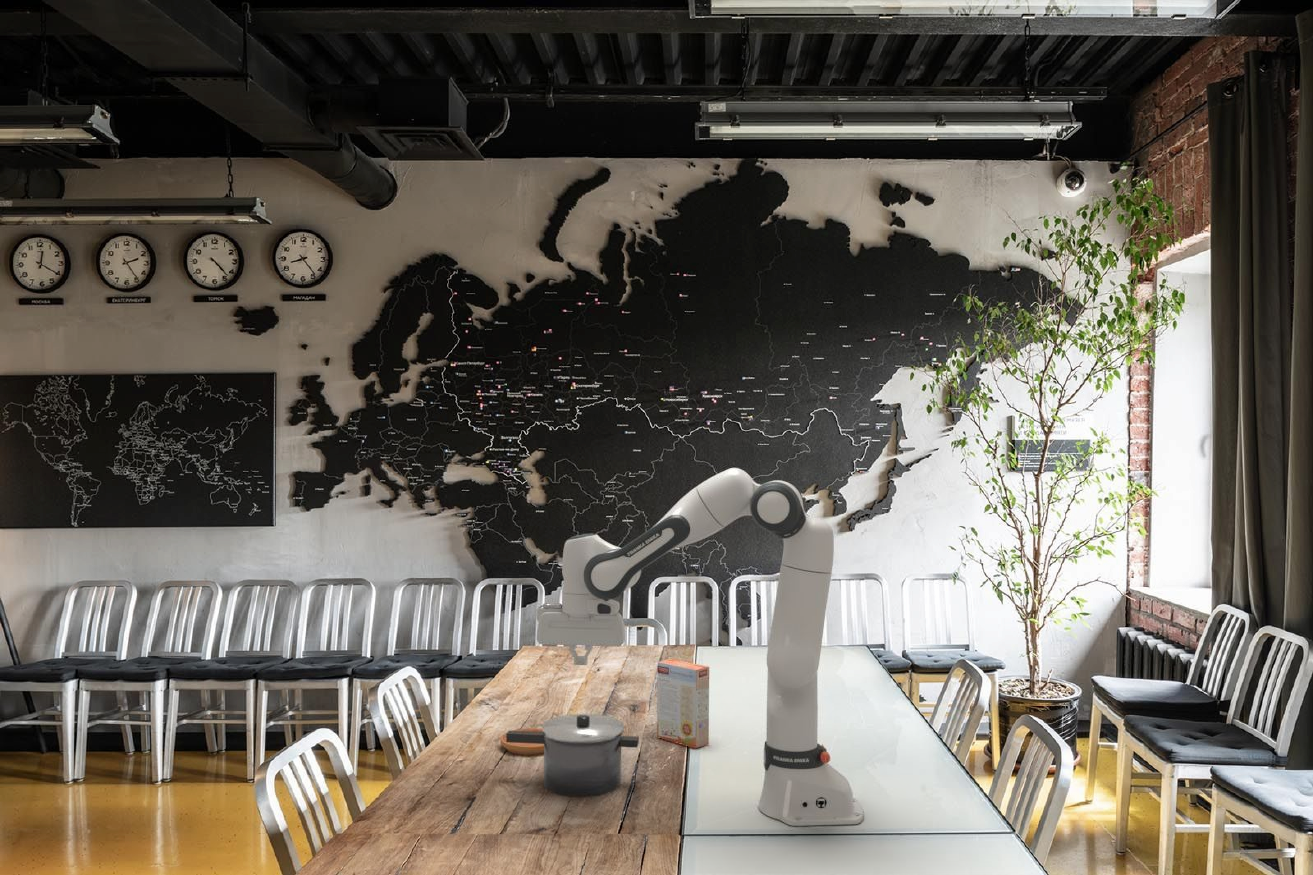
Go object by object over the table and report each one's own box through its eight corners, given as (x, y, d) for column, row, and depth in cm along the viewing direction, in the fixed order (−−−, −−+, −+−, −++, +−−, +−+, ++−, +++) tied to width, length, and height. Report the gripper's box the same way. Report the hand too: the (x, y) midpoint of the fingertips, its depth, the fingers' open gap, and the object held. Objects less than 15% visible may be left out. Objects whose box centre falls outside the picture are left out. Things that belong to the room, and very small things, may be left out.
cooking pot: (642, 772, 226) (642, 722, 226) (632, 799, 208) (633, 745, 208) (516, 766, 229) (517, 717, 229) (496, 792, 211) (497, 739, 211)
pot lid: (628, 720, 227) (628, 707, 227) (617, 745, 208) (617, 730, 208) (551, 717, 228) (551, 704, 229) (533, 741, 210) (533, 727, 210)
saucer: (537, 734, 255) (537, 723, 255) (574, 748, 243) (574, 737, 244) (487, 747, 244) (488, 735, 244) (524, 762, 232) (524, 750, 232)
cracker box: (709, 745, 247) (710, 665, 247) (695, 750, 243) (695, 669, 243) (670, 733, 257) (671, 657, 257) (655, 738, 252) (656, 660, 252)
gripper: (533, 605, 212) (533, 666, 212) (622, 607, 210) (622, 669, 210) (539, 601, 219) (539, 660, 218) (626, 603, 217) (625, 662, 216)
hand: (580, 664), depth 214 cm, fingers closed
